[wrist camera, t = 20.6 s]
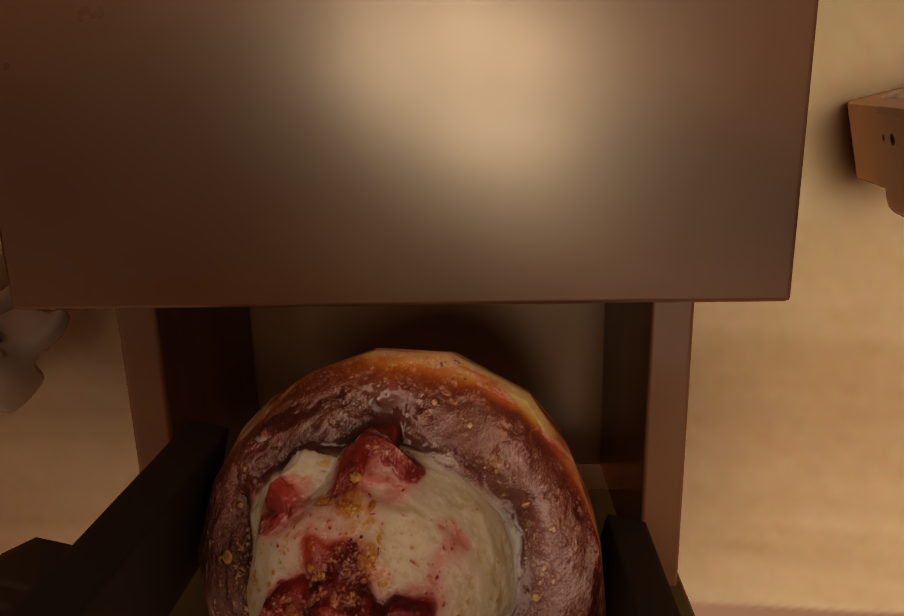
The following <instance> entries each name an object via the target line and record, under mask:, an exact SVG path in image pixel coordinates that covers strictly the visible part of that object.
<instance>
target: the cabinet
mask: <svg viewBox="0 0 904 616" xmlns="http://www.w3.org/2000/svg"><path fill="white" fill-rule="evenodd" d="M817 9H818V0H0V238H1V243H2V249H3V254H4V260H5V265H6V271H7V276H8V282H9V287H10V293H11V298H12V304H13V307H14V308H15V309H19V310H32V309H122V308H212V307H301V306H391V305H481V304H570V303H660V302H750V301H786V300H789V297H790V290H791V280H792V270H793V259H794V249H795V238H796V228H797V218H798V207H799V197H800V186H801V176H802V166H803V155H804V145H805V134H806V124H807V113H808V103H809V93H810V82H811V72H812V61H813V51H814V41H815V30H816V20H817Z"/></svg>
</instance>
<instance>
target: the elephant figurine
mask: <svg viewBox="0 0 904 616" xmlns="http://www.w3.org/2000/svg"><path fill="white" fill-rule="evenodd" d="M69 319H70V315H69V311H66V310H59V309H58V310H56V311H53V312H45V311H43V309H32V310H19V309H15V308H14V307H13V304H12V298H11V293H10V287H9V285H8V286H7V287H6V288H5V289H3V290H2V291H0V412H5V413H11V412H13V411H15V410H17V409H18V408H20V407H21V406H22V405H23V404H24V403H26V402H27V401H28V400H29V399H30V398H31V397H32V396H33V394H34V393H35V392H36V391H37V390H38V388H39V387H40V386H41V384H42V382H43V380H44V375H43V373H42V371H41V370H40V369H39V368H38V367H37V365H36V364H35V363H36V360H37V358H38V357H39V356H40V354H41V353H42V352H44V351H45V350H46V349H47V348H49V347H50V346H51V345H52V344H53V343H55V342H56V341H57V340H58V339H59V338H60V337H61V336H62V334H63V333H64V331H65V329H66V328H67V326H68V322H69Z"/></svg>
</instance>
